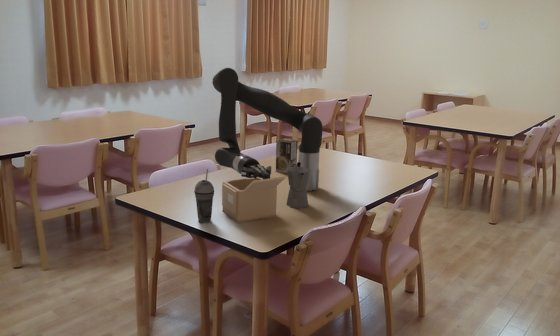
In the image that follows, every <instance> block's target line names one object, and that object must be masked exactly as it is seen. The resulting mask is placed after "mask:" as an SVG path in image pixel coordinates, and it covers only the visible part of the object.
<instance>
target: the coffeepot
mask: <svg viewBox="0 0 560 336" xmlns="http://www.w3.org/2000/svg"><path fill="white" fill-rule="evenodd" d="M300 165H301V163H300V162H298V161H297V165H296V164H293V165H292V167H289V168H288V170H287V171H288V173H287V177H288V185H289V190H288V194H287V199H286V206H287V207H289V208H293V209H303V208H304V207H305V208H307V207H308V206H309V200H308V191H307V190H306V186H307V182H308V177H309V172H310V169H308V168H306V167H301V166H300Z"/></svg>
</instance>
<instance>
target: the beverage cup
mask: <svg viewBox="0 0 560 336" xmlns="http://www.w3.org/2000/svg"><path fill="white" fill-rule="evenodd" d="M205 172H206V173H205V179H202V180H200V181H198V182H197V183H196V184H195V186H194V192H193V193H194V195H195V202H196V211H197V212H196V213H197V214H196V215H197V219H198V223H201V224H209V223H211V221H212V214H213V213H212V212H213V211H212V210H213V201H214V196H215V188H214V185H213V184H212V182H211V181H210V180H208V175H209V168H206V171H205Z"/></svg>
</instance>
